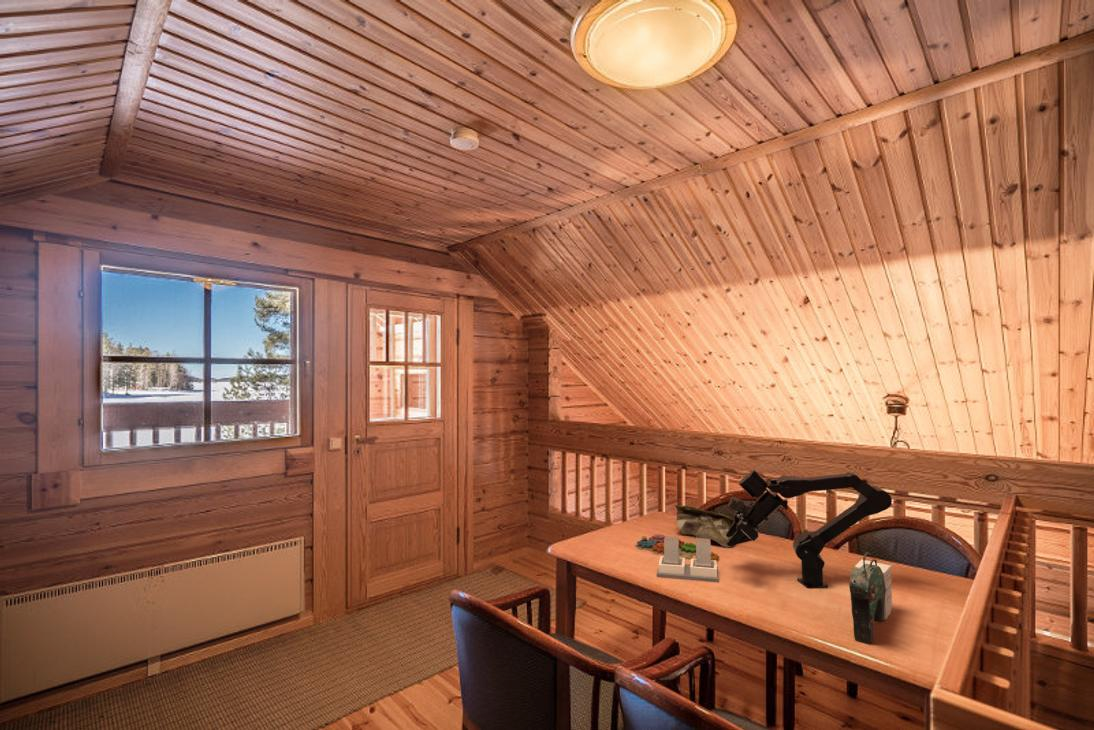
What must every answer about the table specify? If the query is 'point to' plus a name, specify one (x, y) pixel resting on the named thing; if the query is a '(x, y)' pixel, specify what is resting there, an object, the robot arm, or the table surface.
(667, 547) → the billet
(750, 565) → the table surface
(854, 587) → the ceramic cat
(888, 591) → the supplement box
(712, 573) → the double socket tray
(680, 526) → the hollow geode rock
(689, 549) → the gear puzzle
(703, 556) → the block
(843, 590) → the table surface
